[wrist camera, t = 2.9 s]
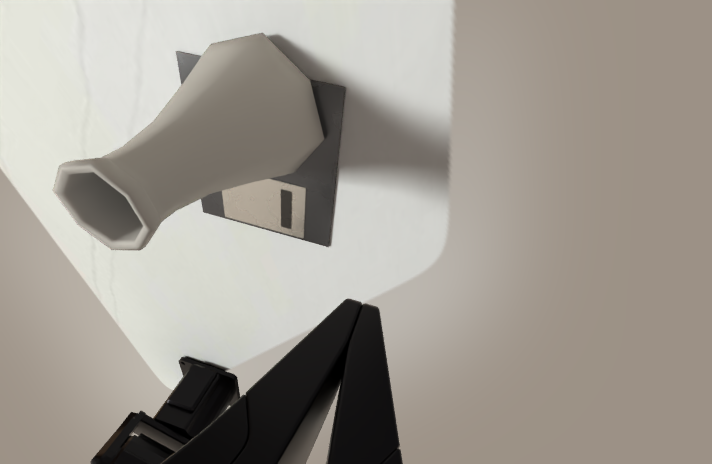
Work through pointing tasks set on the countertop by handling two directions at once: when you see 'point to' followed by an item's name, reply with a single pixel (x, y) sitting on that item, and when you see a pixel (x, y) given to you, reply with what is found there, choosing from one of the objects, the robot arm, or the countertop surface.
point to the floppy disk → (288, 179)
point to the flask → (198, 144)
